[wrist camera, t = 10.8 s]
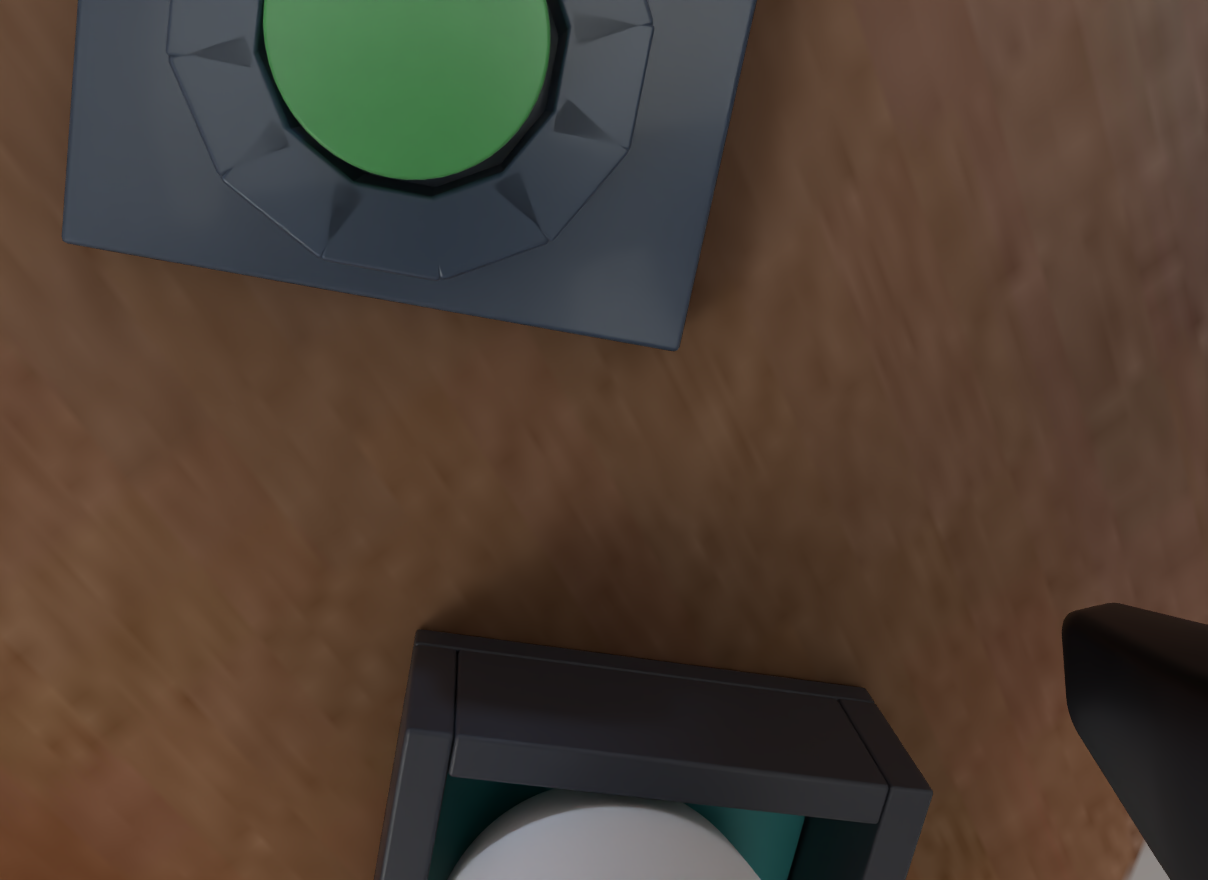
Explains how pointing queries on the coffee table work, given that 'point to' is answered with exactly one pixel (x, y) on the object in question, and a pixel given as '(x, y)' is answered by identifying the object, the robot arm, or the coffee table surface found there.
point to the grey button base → (416, 207)
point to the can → (600, 842)
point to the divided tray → (647, 756)
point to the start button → (409, 77)
